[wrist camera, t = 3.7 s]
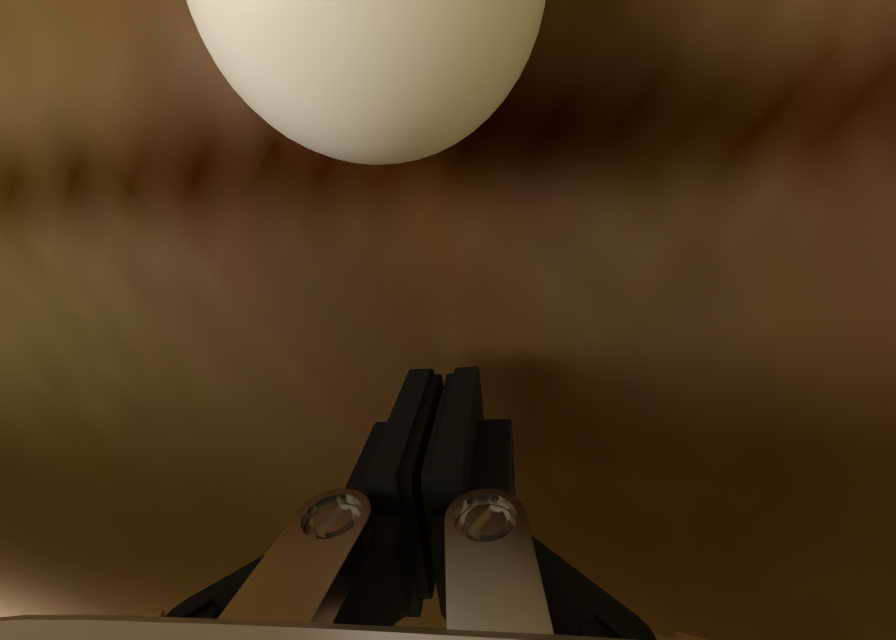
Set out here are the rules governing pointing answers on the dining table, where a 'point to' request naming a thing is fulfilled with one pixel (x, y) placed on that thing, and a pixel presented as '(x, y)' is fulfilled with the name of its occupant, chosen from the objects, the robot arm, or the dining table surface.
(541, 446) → the dining table surface
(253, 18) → the cue ball
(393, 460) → the robot arm
